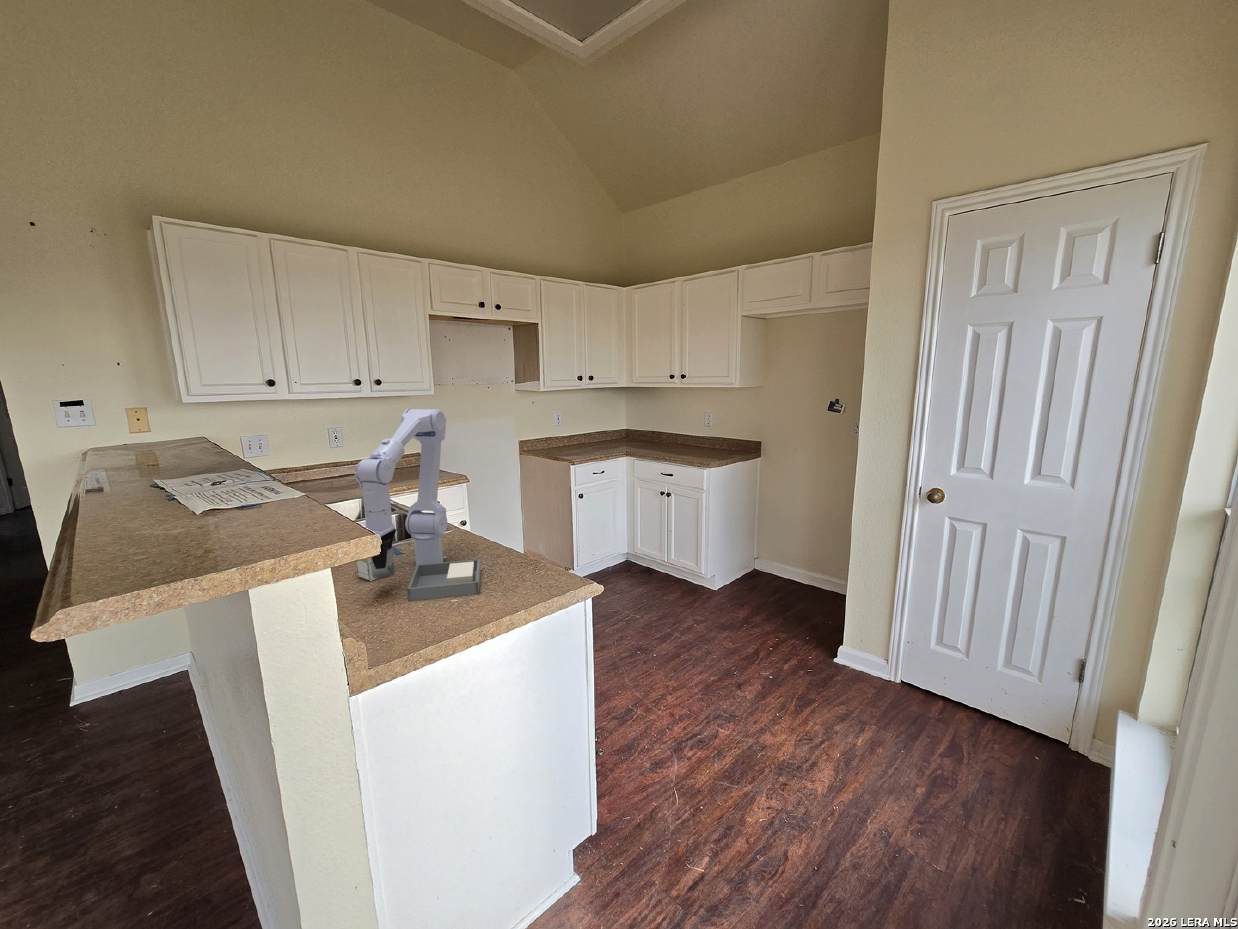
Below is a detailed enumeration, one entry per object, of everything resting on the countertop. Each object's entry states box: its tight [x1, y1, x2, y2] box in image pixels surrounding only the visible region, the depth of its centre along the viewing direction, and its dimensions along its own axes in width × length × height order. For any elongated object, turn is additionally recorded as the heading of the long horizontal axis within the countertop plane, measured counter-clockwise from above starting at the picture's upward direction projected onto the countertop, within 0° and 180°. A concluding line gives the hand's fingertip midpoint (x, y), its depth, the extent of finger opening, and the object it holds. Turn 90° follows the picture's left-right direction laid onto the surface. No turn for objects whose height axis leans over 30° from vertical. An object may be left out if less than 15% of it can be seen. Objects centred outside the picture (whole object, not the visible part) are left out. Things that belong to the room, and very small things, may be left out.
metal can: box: [371, 547, 396, 580], centre depth 125 cm, size 5×5×6 cm
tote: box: [406, 558, 481, 602], centre depth 132 cm, size 16×16×4 cm
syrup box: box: [355, 521, 376, 582], centre depth 139 cm, size 6×6×14 cm
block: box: [447, 562, 475, 584], centre depth 132 cm, size 10×6×4 cm, turn 13°
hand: (383, 563), depth 125 cm, fingers closed on metal can, 5 cm apart
